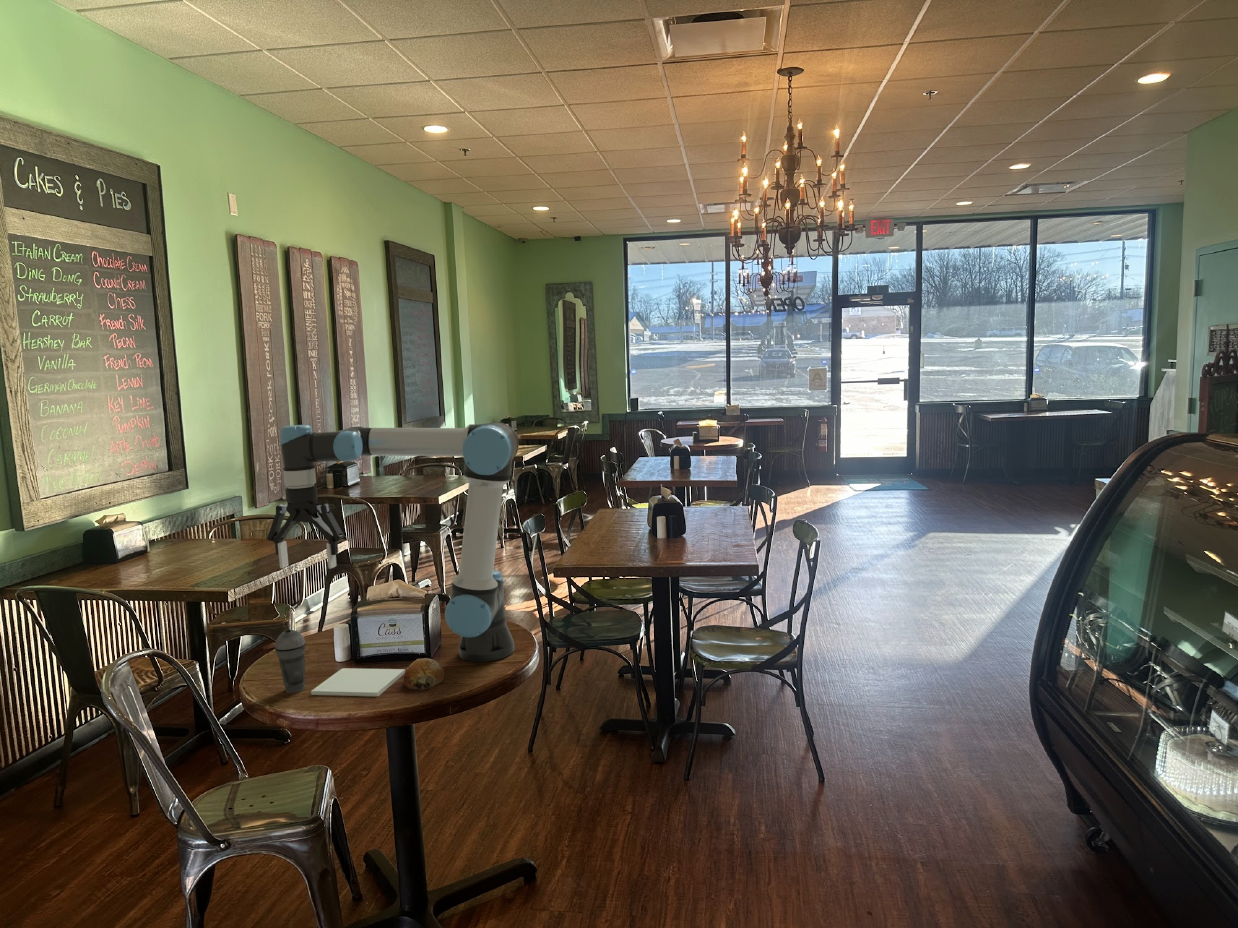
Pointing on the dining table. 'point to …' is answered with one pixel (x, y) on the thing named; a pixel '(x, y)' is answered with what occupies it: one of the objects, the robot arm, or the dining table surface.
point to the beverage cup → (291, 659)
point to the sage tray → (358, 682)
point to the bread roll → (423, 674)
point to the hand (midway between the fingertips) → (308, 567)
